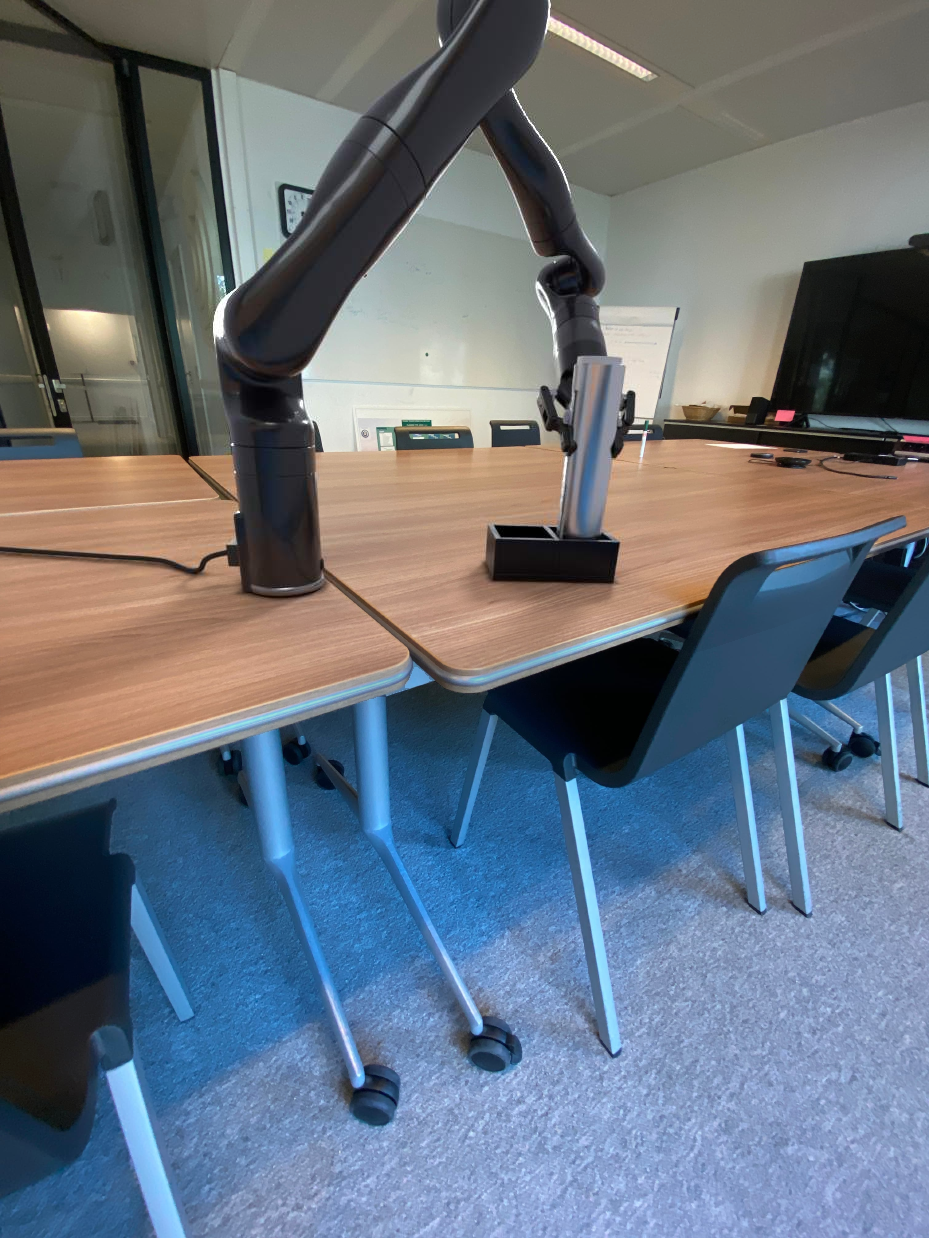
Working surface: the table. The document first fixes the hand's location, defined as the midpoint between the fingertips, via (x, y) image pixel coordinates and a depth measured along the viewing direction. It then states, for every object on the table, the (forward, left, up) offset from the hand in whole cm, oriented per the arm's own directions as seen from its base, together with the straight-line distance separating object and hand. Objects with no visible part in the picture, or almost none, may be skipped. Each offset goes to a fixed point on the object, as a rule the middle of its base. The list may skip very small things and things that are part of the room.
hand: (593, 453), depth 71 cm
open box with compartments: (-4, +2, -17) cm, 18 cm away
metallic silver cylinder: (0, +2, -13) cm, 13 cm away
